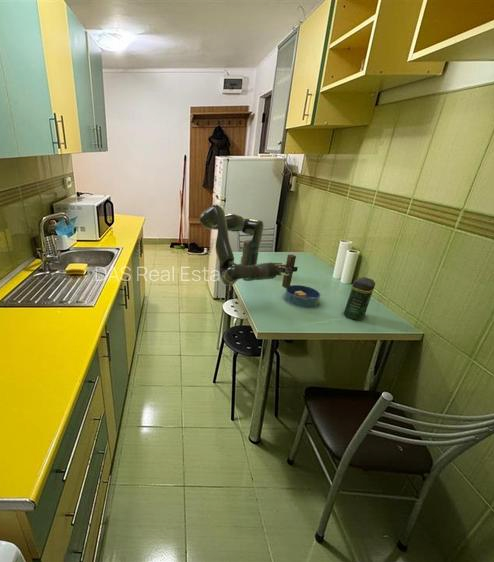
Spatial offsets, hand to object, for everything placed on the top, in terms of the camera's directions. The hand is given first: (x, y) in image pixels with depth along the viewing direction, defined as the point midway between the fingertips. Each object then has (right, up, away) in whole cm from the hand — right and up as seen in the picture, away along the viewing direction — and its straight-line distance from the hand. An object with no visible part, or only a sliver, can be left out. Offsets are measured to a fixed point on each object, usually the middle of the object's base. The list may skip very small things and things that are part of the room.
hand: (294, 267), depth 143 cm
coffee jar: (+27, -23, -1) cm, 36 cm away
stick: (-3, -9, +3) cm, 10 cm away
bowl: (+8, -16, +12) cm, 22 cm away
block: (+7, -16, +12) cm, 21 cm away
